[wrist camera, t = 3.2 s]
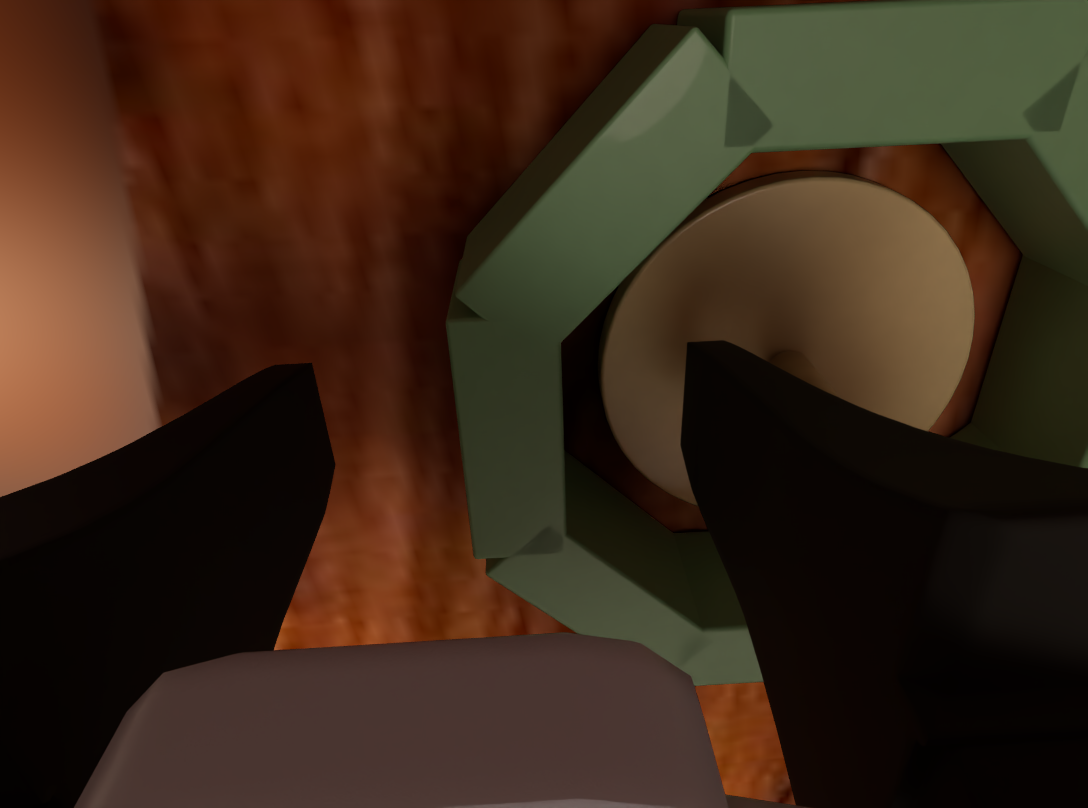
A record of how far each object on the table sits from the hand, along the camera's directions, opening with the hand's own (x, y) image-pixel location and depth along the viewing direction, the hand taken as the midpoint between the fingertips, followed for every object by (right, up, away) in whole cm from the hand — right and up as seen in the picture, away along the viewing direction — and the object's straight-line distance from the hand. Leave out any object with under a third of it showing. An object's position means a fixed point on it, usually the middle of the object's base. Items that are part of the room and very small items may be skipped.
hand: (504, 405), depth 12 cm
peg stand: (+5, +1, +1) cm, 5 cm away
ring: (+5, +1, +1) cm, 5 cm away
